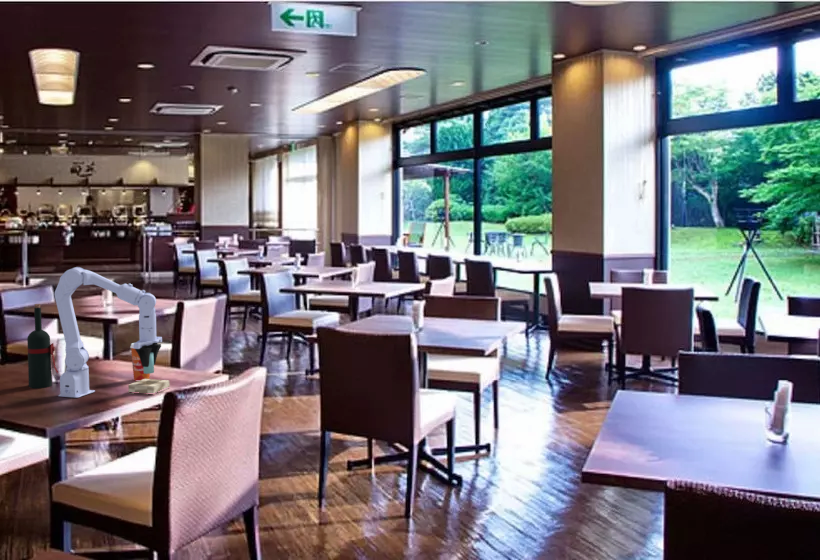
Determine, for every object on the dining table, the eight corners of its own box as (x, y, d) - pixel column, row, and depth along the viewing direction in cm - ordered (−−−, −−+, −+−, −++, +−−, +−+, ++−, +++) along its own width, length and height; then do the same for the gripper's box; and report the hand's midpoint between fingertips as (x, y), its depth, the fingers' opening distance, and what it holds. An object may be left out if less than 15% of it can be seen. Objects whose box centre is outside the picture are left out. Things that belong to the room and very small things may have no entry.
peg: (150, 373, 278) (149, 354, 277) (141, 373, 279) (141, 353, 278) (156, 371, 281) (155, 352, 280) (147, 371, 282) (146, 352, 281)
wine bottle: (56, 387, 284) (53, 305, 281) (26, 388, 282) (22, 305, 279) (61, 382, 292) (58, 302, 289) (31, 384, 290) (28, 303, 287)
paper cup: (126, 380, 297) (125, 343, 295) (142, 376, 303) (141, 340, 302) (141, 382, 293) (140, 345, 292) (157, 378, 300) (156, 342, 298)
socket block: (153, 394, 274) (153, 386, 274) (128, 393, 277) (128, 384, 277) (169, 388, 284) (169, 380, 284) (145, 386, 286) (144, 378, 286)
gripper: (145, 331, 270) (146, 370, 271) (169, 325, 284) (170, 362, 285) (127, 330, 272) (128, 369, 273) (151, 324, 286) (152, 361, 287)
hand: (148, 365), depth 279 cm, fingers closed on peg, 3 cm apart
